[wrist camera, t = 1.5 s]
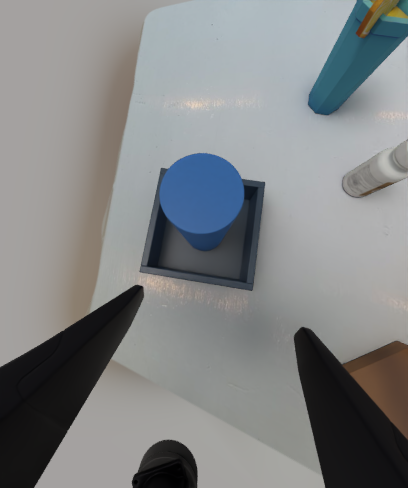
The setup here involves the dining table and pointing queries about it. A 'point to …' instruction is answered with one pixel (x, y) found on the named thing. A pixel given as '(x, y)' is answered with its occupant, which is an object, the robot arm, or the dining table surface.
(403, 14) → the cup
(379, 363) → the trivet
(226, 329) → the dining table surface
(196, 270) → the tray
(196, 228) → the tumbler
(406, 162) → the pill bottle
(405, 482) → the robot arm
